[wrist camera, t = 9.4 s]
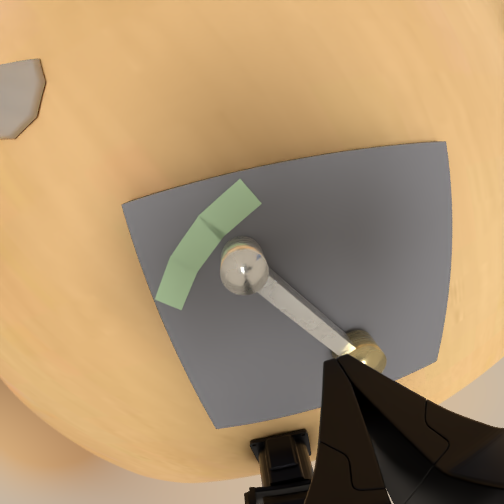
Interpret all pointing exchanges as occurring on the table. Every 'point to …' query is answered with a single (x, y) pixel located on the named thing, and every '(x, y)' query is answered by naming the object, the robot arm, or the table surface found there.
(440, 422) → the robot arm
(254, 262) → the lever
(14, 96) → the flask
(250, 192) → the dial board
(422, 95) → the table surface
